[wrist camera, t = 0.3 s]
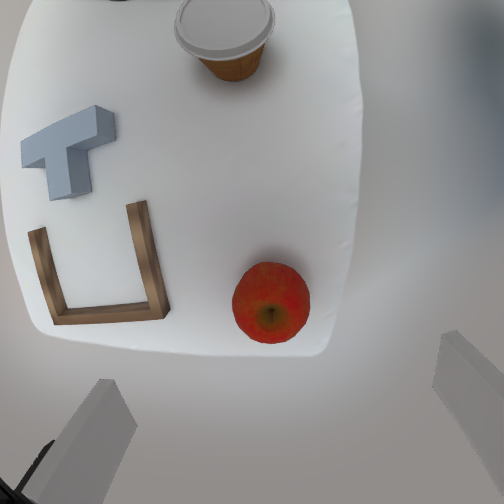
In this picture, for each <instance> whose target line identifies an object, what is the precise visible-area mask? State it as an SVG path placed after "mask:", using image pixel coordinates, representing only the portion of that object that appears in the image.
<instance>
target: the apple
mask: <svg viewBox="0 0 504 504" xmlns="http://www.w3.org/2000/svg"><path fill="white" fill-rule="evenodd" d="M232 310H233V313H234V317H235V320H236V323H237V324H238V326H239V328H240V329H241V330H242V331H243V332H244V333H245V334H247V335H248V336H249V337H250V338H251V339H252V340H255V341H257V342H260V343H267V344H275V343H281V342H286V341H288V340H289V339H291V338H292V337H294V336H295V335H296V334H297V333H298V332H299V331H300V330H301V328H302V327H303V326H304V325H305V324H306V321H307V319H308V316H309V312H310V295H309V290H308V288H307V285H306V283H305V281H304V280H303V279H302V277H301V276H300V275H299V274H298V273H297V272H296V271H295V270H294V269H293V268H290V267H288V266H286V265H283V264H279V263H273V262H262V263H259V264H257V265H254V266H253V267H252V268H251V269H249V270H248V271H247V272H246V273H245V274H244V276H243V277H242V279H241V280H240V282H239V283H238V285H237V287H236V289H235V292H234V295H233V298H232Z"/></svg>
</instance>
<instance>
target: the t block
mask: <svg viewBox="0 0 504 504" xmlns="http://www.w3.org/2000/svg"><path fill="white" fill-rule="evenodd" d="M115 140H116V134H115V124H114V113H113V112H110V111H108V110H106V109H103V108H101V107H99V106H96V105H94V106H92V107H89V108H87V109H85V110H82V111H80V112H78V113H76V114H73V115H71V116H69V117H67V118H65V119H63V120H60V121H58V122H56V123H54V124H52V125H50V126H48V127H46V128H44V129H43V130H41V131H39V132H37V133H35V134H33V135H31V136H30V137H28V138H26V139H24V140H22V141H21V160H22V168H45V167H46V175H47V183H48V191H49V198H50V201H52V200H60V199H69V198H73V197H76V196H80V195H83V194H86V193H89V192H92V189H91V182H90V175H89V167H88V159H87V150H89V149H92V148H94V147H97V146H100V145H103V144H106V143H109V142H112V141H115Z"/></svg>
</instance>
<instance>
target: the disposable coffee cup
mask: <svg viewBox="0 0 504 504" xmlns="http://www.w3.org/2000/svg"><path fill="white" fill-rule="evenodd" d="M274 25H275V14H274V11H273V8H272V6H271V5H270V3H269V2H268V1H267V0H185V1H184V2H183V4H182V5H181V6H180V8H179V10H178V12H177V16H176V20H175V25H174V32H175V36H176V39H177V41H178V43H179V44H180V46H181V47H182V48H183V49H184V50H186V51H187V52H188V53H190V54H192V55H194V56H196V57H198V58H199V59H200V60H201V61H202V62H203V63H204V64H205V65H206V66H207V67H208V68H209V69H210V70H211V71H212V72H213V74H214V75H215V76H217V77H218V78H220V79H222V80H225V81H240V80H243V79H246V78H248V77H249V76H251V75H252V74H253V73H254V72H255V71H256V69H257V67H258V64H259V61H260V57H261V54H262V51H263V48H264V45H265V42H266V41H267V40H268V38H269V37H270V35H271V34H272V31H273V29H274Z"/></svg>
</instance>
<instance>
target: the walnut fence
mask: <svg viewBox="0 0 504 504" xmlns="http://www.w3.org/2000/svg"><path fill="white" fill-rule="evenodd" d="M126 209H127V214H128V219H129V224H130V229H131V234H132V239H133V243H134V248H135V252H136V256H137V261H138V265H139V269H140V273H141V277H142V281H143V284H144V288H145V292H146V296H147V299H148V302H140V303H130V304H120V305H109V306H97V307H85V308H73V309H67V306H66V303H65V300H64V297H63V294H62V290H61V287H60V284H59V280H58V277H57V273H56V270H55V266H54V262H53V258H52V254H51V250H50V246H49V242H48V237H47V232H46V227H44V228H40V229H37V230H33V231H30V232H28V237H29V241H30V246H31V250H32V254H33V258H34V262H35V266H36V270H37V273H38V277H39V280H40V284H41V287H42V290H43V294H44V297H45V300H46V303H47V306H48V309H49V312H50V314H51V317H52V320H53V323H54V325H77V324H99V323H117V322H132V321H146V320H158V319H164V318H165V317H166V315H167V314H168V312H169V311H170V306H169V303H168V299H167V295H166V291H165V287H164V283H163V279H162V275H161V271H160V267H159V262H158V258H157V254H156V249H155V245H154V240H153V235H152V230H151V225H150V220H149V215H148V210H147V205H146V201H141V202H136V203H132V204H128V205H126Z"/></svg>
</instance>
